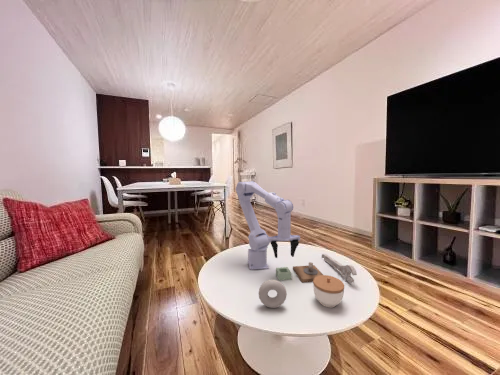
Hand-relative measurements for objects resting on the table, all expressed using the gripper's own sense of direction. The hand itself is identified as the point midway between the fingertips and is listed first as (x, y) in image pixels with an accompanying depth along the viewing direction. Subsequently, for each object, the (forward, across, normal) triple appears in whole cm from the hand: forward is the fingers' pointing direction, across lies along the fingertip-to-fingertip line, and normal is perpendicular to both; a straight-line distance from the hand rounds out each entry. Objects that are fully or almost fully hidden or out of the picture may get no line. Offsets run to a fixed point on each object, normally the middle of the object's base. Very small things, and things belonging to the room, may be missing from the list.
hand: (284, 256), depth 96 cm
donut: (+10, -11, -20) cm, 24 cm away
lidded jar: (+10, +10, -20) cm, 25 cm away
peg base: (+10, +12, 0) cm, 15 cm away
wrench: (+10, +27, +2) cm, 29 cm away
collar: (+10, 0, 0) cm, 10 cm away
